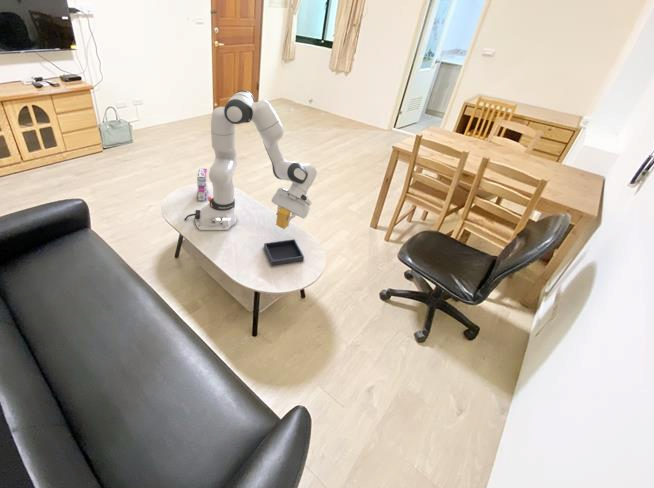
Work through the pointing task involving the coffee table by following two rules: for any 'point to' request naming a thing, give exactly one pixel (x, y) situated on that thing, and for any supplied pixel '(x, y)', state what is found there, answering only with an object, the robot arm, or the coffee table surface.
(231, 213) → the robot arm
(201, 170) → the candy bar box
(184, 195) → the coffee table surface
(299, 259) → the pan
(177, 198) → the coffee table surface
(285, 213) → the cheese
